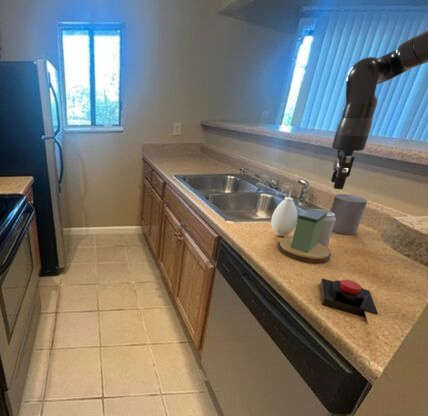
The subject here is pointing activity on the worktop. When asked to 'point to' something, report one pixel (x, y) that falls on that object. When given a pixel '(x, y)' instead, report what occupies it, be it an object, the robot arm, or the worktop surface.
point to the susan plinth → (302, 259)
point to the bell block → (346, 299)
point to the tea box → (307, 236)
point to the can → (327, 227)
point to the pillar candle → (347, 213)
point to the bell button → (350, 286)
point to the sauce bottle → (284, 217)
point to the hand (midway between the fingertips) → (336, 185)
